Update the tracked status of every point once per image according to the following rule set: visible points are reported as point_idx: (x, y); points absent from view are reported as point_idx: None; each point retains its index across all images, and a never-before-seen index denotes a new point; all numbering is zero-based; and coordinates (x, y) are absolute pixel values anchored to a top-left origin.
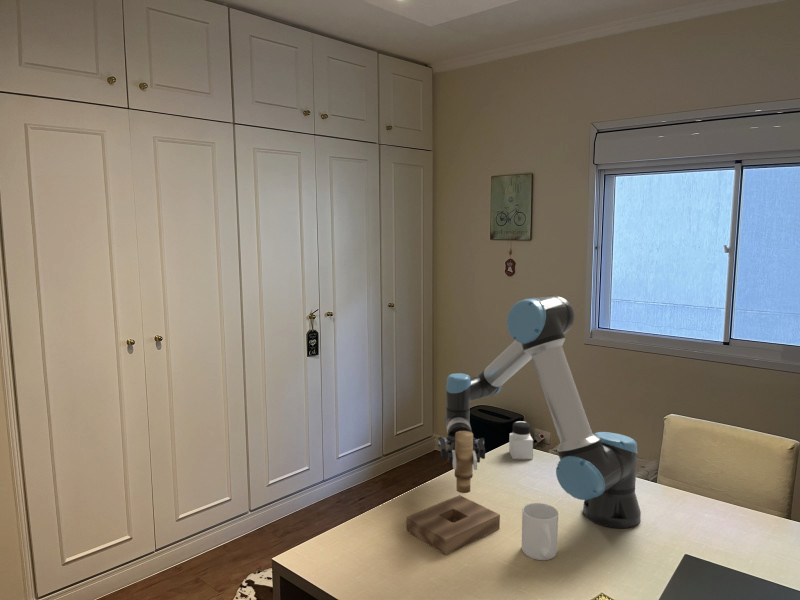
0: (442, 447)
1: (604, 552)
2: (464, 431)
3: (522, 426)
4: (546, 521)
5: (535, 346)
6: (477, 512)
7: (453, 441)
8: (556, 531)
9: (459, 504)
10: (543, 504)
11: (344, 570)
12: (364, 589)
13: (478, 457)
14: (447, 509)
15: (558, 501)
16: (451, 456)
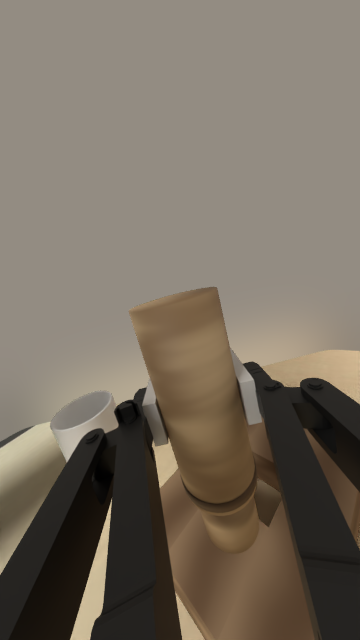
0: (337, 396)
1: (9, 488)
2: (167, 304)
3: None
4: (92, 394)
5: None
6: (192, 515)
7: (347, 562)
8: (77, 424)
9: (259, 575)
10: (58, 429)
11: (351, 367)
12: (302, 359)
13: (143, 388)
14: (284, 515)
15: None
16: (245, 365)
